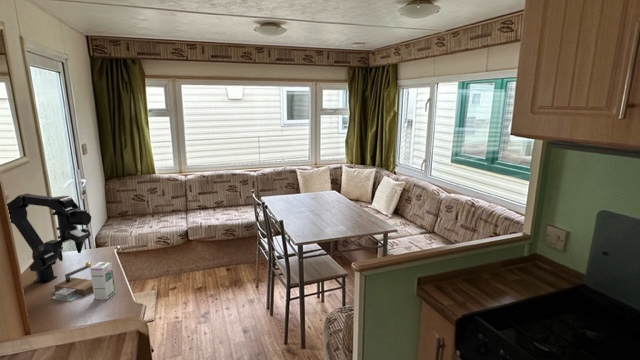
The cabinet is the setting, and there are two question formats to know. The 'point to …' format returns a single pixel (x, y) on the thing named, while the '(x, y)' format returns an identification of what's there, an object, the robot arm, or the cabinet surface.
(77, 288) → the body
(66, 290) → the grey block
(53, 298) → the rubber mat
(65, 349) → the cabinet surface
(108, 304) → the cabinet surface
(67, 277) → the lever
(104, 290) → the syrup box
